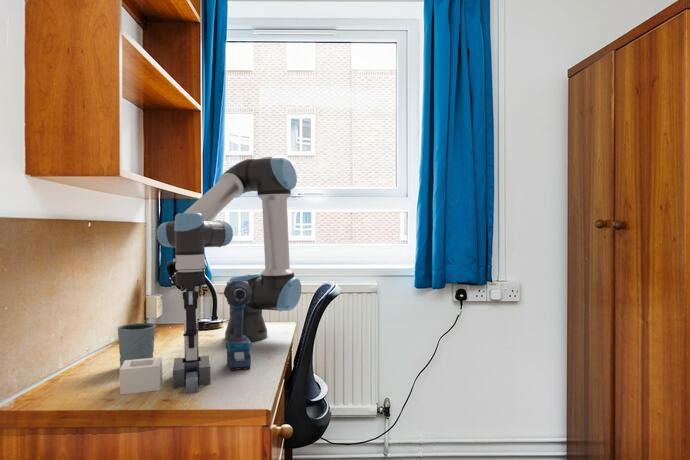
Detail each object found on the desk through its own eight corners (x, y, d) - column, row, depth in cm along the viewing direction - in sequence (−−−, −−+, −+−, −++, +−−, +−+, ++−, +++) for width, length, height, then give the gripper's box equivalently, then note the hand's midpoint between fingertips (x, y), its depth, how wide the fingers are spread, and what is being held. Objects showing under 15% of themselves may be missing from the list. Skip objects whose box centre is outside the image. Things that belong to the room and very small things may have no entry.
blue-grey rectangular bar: (186, 383, 125) (186, 372, 125) (197, 382, 126) (197, 371, 126) (185, 393, 117) (185, 381, 117) (198, 392, 118) (197, 380, 118)
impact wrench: (226, 380, 127) (224, 284, 127) (224, 358, 149) (222, 276, 149) (257, 377, 129) (255, 283, 129) (250, 356, 151) (248, 275, 151)
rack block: (125, 383, 126) (124, 360, 126) (162, 379, 129) (161, 357, 129) (120, 394, 117) (119, 369, 117) (160, 390, 120) (159, 365, 120)
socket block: (174, 374, 133) (174, 358, 133) (209, 371, 136) (208, 355, 136) (173, 388, 121) (172, 370, 121) (210, 384, 124) (210, 366, 124)
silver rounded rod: (185, 375, 132) (184, 320, 132) (198, 374, 133) (197, 319, 133) (184, 379, 129) (183, 322, 129) (199, 377, 130) (198, 321, 130)
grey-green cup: (123, 364, 145) (122, 323, 145) (158, 361, 147) (158, 321, 147) (114, 373, 135) (113, 330, 135) (153, 370, 137) (152, 328, 137)
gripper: (176, 268, 138) (177, 351, 138) (174, 273, 122) (175, 367, 122) (203, 267, 141) (205, 348, 141) (205, 272, 124) (207, 364, 124)
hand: (191, 357), depth 131 cm, fingers open, 4 cm apart
